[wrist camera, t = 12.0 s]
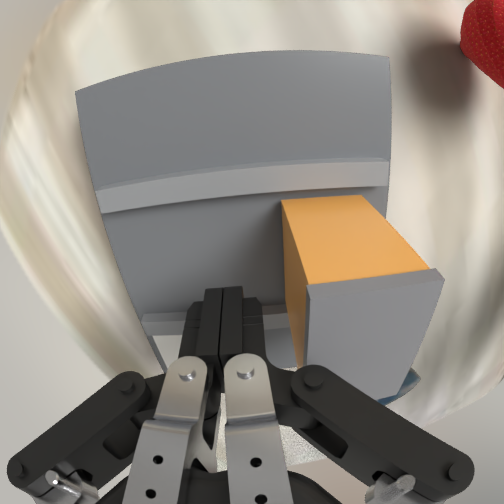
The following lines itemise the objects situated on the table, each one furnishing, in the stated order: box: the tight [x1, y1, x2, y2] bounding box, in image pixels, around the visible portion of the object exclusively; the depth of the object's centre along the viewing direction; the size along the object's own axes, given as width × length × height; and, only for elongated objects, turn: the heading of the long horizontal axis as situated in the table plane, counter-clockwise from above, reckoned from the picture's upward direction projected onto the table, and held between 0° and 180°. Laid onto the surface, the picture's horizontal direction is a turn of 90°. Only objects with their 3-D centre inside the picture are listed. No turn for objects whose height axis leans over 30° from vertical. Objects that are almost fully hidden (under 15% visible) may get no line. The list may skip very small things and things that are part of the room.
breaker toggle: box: [281, 195, 445, 400], centre depth 12 cm, size 4×6×7 cm
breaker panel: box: [75, 50, 391, 373], centre depth 16 cm, size 15×20×4 cm
